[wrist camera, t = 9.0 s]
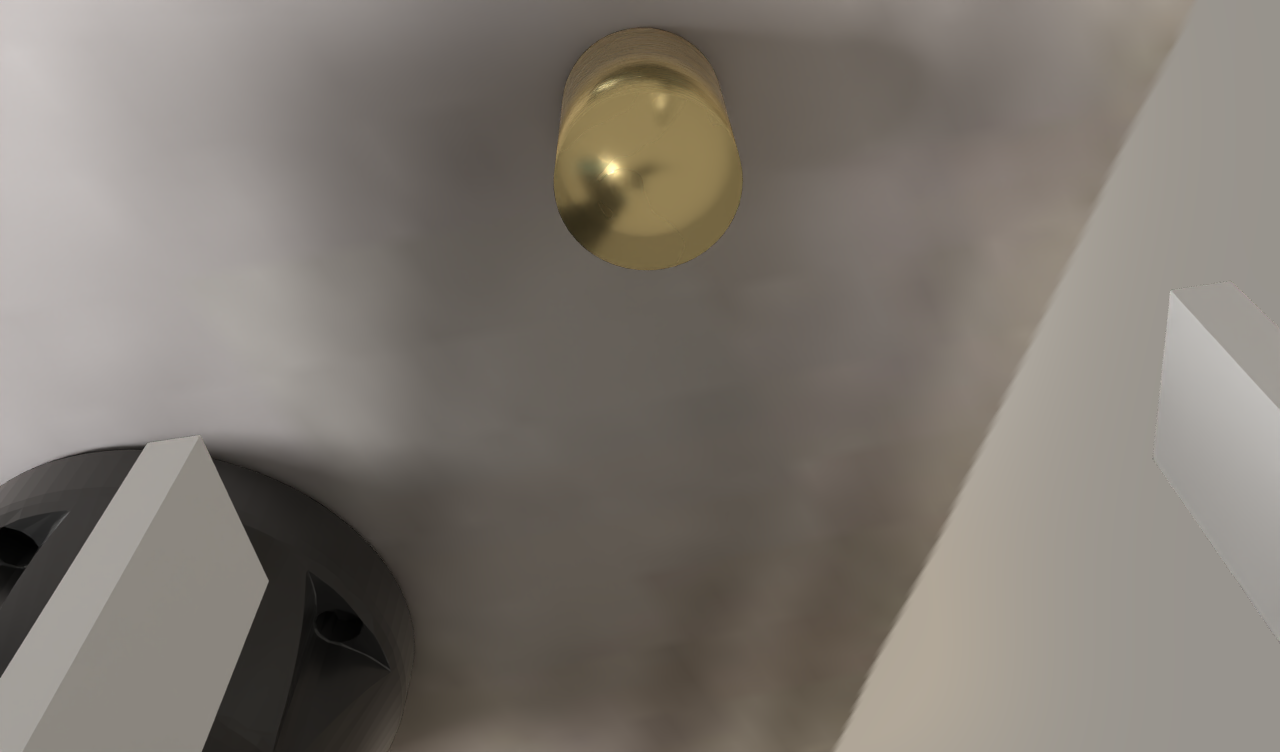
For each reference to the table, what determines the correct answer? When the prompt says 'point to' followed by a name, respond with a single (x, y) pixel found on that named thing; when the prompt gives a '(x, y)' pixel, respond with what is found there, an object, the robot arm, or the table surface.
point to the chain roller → (645, 152)
